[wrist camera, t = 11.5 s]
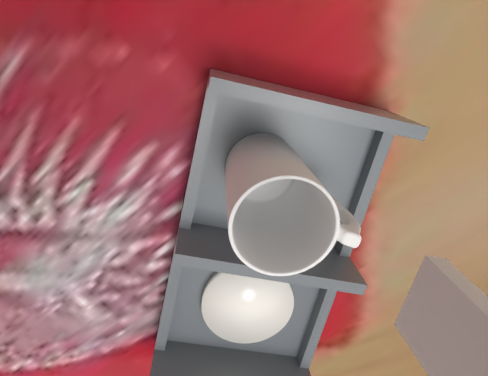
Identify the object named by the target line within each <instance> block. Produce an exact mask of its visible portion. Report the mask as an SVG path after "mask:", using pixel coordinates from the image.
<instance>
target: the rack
mask: <svg viewBox="0 0 488 376" xmlns="http://www.w3.org/2000/svg"><path fill="white" fill-rule="evenodd" d="M428 129H429V128H428V127H426V126H424V125H421V124H419V123H416V122H414V121H412V120H409V119H407V118H404V117H402V116H400V115H397V114H395V113H393V112H390V111H387V110H383V109H379V108H374V107H370V106H366V105H362V104H358V103H353V102H349V101H345V100H341V99H337V98H333V97H328V96H324V95H320V94H316V93H312V92H307V91H303V90H299V89H295V88H291V87H286V86H282V85H278V84H274V83H270V82H265V81H261V80H257V79H253V78H249V77H244V76H240V75H236V74H232V73H228V72H223V71H219V70H215V69H211V68H210V72H209V77H208V82H207V87H206V92H205V97H204V102H203V107H202V112H201V117H200V122H199V127H198V132H197V137H196V142H195V147H194V152H193V157H192V162H191V167H190V172H189V177H188V182H187V187H186V192H185V197H184V202H183V207H182V212H181V217H180V222H179V227H178V232H177V237H176V242H175V247H174V252H173V257H172V262H171V267H170V272H169V277H168V282H167V287H166V292H165V297H164V302H163V307H162V312H161V317H160V322H159V327H158V332H157V337H156V342H155V348H154V354H153V359H152V365H151V371H150V376H311V375H310V372H309V366H310V364H311V361H312V358H313V356H314V353H315V350H316V347H317V345H318V342H319V339H320V336H321V334H322V331H323V328H324V326H325V323H326V320H327V317H328V315H329V312H330V309H331V306H332V304H333V301H334V298H335V296H336V293H337V291H341V292H347V293H353V294H360V295H364V292H365V290H366V287H367V284H366V282H365V281H364V279H363V278H362V276H361V274H360V273H359V271H358V270H357V268H356V267H355V265H354V263H353V262H352V260H351V259H350V255H351V252H352V249H353V248H352V247H349V246H346V245H344V244H342V243H340V242H339V241H337V240H336V243H335V245H334V246H333V248H332V250H331V251H330V252H329V254H328V255H327V256H326V257H325V258H324V259H323V260H322V261H321V262H319V263H318V264H317V265H315V266H314V267H312V268H310V269H308V270H306V271H304V272H301V273H298V274H295V275H290V276H271V275H266V274H262V273H259V272H257V271H255V270H253V269H251V268H249V267H248V266H247V265H245V264H244V263H243V262H242V261H241V260H240V259H239V258H238V257H237V255H236V254H235V252H234V250H233V248H232V246H231V243H230V240H229V235H228V220H227V200H226V182H225V165H226V160H227V157H228V154H229V152H230V151H231V149H232V148H233V147H234V145H235V144H236V143H237V142H239V141H240V140H241V139H243V138H245V137H247V136H249V135H252V134H257V133H267V134H272V135H275V136H277V137H279V138H281V139H282V140H284V141H285V142H286V143H287V144H288V145H289V146H290V147H291V148H292V150H293V151H294V152H295V153H296V154H297V155H298V156H299V157H300V159H301V160H302V161H303V162H304V163H305V165H306V166H307V167H308V168H309V169H310V170H311V172H312V173H313V174H314V175H315V176H316V178H317V179H318V180H319V181H320V182H321V183H322V185H323V186H324V187H325V189H326V190H327V191H328V193H329V194H330V195H331V196H332V197H334V198H335V199H336V200H337V201H338V202H339V203H341V204H342V205H343V206H344V207H345V208H346V209H347V210H348V211H349V212H350V213H351V214H352V215H353V216H354V217H355V219H356V220H357V221H358V223H359V225H360V227H361V225H362V222H363V219H364V216H365V214H366V211H367V208H368V206H369V203H370V200H371V197H372V195H373V192H374V189H375V186H376V184H377V181H378V178H379V176H380V173H381V170H382V167H383V165H384V162H385V159H386V156H387V154H388V151H389V148H390V146H391V143H392V140H393V137H394V135H400V136H404V137H408V138H413V139H417V140H421V141H424V140H425V137H426V134H427V132H428ZM340 223H341V224H343V223H342V222H341V221H340ZM215 272H221V273H227V274H233V275H240V276H246V277H252V278H259V279H265V280H271V281H278V282H284V283H290V286H291V289H292V292H293V296H294V308H293V312H292V315H291V317H290V319H289V321H288V322H287V324H286V325H285V326H284V327H283V328H282V329H281V330H280V331H279V332H278V333H277V334H275V335H273V336H272V337H270V338H268V339H266V340H263V341H260V342H255V343H245V344H243V343H234V342H230V341H227V340H225V339H222V338H221V337H219V336H217V335H216V334H215V333H213V332H212V331H211V330H210V329H209V327H208V326H207V325H206V323H205V321H204V318H203V315H202V292H203V289H204V286H205V284H206V282H207V281H208V279H209V278H210V277H211V276H212V275H213V273H215Z"/></svg>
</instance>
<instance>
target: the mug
mask: <svg viewBox="0 0 488 376" xmlns="http://www.w3.org/2000/svg"><path fill="white" fill-rule="evenodd" d="M225 182H226V200H227V220H228V235H229V240H230V243H231V246H232V248H233V250H234V252H235V254H236V255H237V257H238V258H239V259H240V260H241V261H242V262H243V263H244V264H245V265H247V266H248V267H249V268H251V269H253V270H255V271H257V272H259V273H262V274H266V275H271V276H290V275H295V274H298V273H301V272H304V271H306V270H308V269H310V268H312V267H314V266H315V265H317V264H318V263H319V262H321V261H322V260H323V259H324V258H325V257H326V256H327V255H328V254H329V252H330V251H331V250H332V248H333V246H334V245H335V243H336V240H337V241H339V242H340V243H342V244H344V245H346V246H349V247H352V248H356V247H358V245H359V244H360V242H361V236H360V231H361V229H360V225H359V223H358V221H357V220H356V219H355V217H354V216H353V215H352V214H351V213H350V212H349V211H348V210H347V209H346V208H345V207H344V206H343V205H342V204H341V203H339V202H338V201H337V200H336V199H335V198H334V197H332V196H331V195H330V194H329V193H328V191H327V190H326V189H325V187H324V186H323V185H322V183H321V182H320V181H319V180H318V179H317V178H316V176H315V175H314V174H313V173H312V172H311V170H310V169H309V168H308V167H307V166H306V165H305V163H304V162H303V161H302V160H301V159H300V157H299V156H298V155H297V154H296V153H295V152H294V151H293V150H292V148H291V147H290V146H289V145H288V144H287V143H286V142H285V141H284V140H282V139H281V138H279V137H277V136H275V135H272V134H267V133H257V134H252V135H249V136H247V137H245V138H243V139H241V140H240V141H239V142H237V143H236V144H235V145H234V147H233V148H232V149H231V151H230V152H229V154H228V157H227V160H226V165H225ZM340 221H341V222H342V223H343V224H341V223H340Z"/></svg>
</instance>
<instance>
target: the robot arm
mask: <svg viewBox="0 0 488 376" xmlns="http://www.w3.org/2000/svg"><path fill="white" fill-rule="evenodd" d="M394 325H395V326H396V328H397V329H398V331H399V332H400V334H401V335H402V337H403V338H404V340H405V341H406V343H407V344H408V346H409V347H410V349H411V350H412V352H413V353H414V355H415V356H416V358H417V359H418V361H419V362H420V364H421V365H422V367H423V368H424V370H425V371H426V373H427V374H428V376H488V296H487V295H485V294H484V293H483V292H482V291H481V290H480V289H479V288H478V287H477V286H476V285H475V284H473V283H472V282H471V281H470V280H469V279H468V278H467V277H466V276H465V275H464V274H463V273H462V272H460V271H459V270H458V269H457V268H456V267H455V266H454V265H453V264H452V263H451V262H450V261H448V260H447V259H445V258H440V257H434V256H428V255H425V257H424V260H423V262H422V264H421V266H420V268H419V271H418V273H417V275H416V277H415V279H414V282H413V284H412V286H411V288H410V290H409V293H408V295H407V297H406V299H405V301H404V304H403V306H402V308H401V310H400V312H399V315H398V317H397V319H396V321H395V323H394Z"/></svg>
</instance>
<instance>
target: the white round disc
mask: <svg viewBox="0 0 488 376" xmlns="http://www.w3.org/2000/svg"><path fill="white" fill-rule="evenodd" d="M293 308H294V296H293V292H292V289H291V286H290V283H284V282H278V281H271V280H265V279H259V278H252V277H246V276H240V275H233V274H227V273H221V272H215V273H213V275H212V276H211V277H210V278H209V279H208V281H207V282H206V284H205V286H204V289H203V292H202V315H203V318H204V321H205V323H206V325H207V326H208V327H209V329H210V330H211V331H212V332H213V333H215V334H216V335H217V336H219V337H221V338H222V339H225V340H227V341H230V342H234V343H243V344H245V343H255V342H260V341H263V340H266V339H268V338H270V337H272V336H273V335H275V334H277V333H278V332H279V331H280V330H281V329H282V328H283V327H284V326H285V325H286V324H287V322H288V321H289V319H290V317H291V315H292V312H293Z"/></svg>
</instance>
